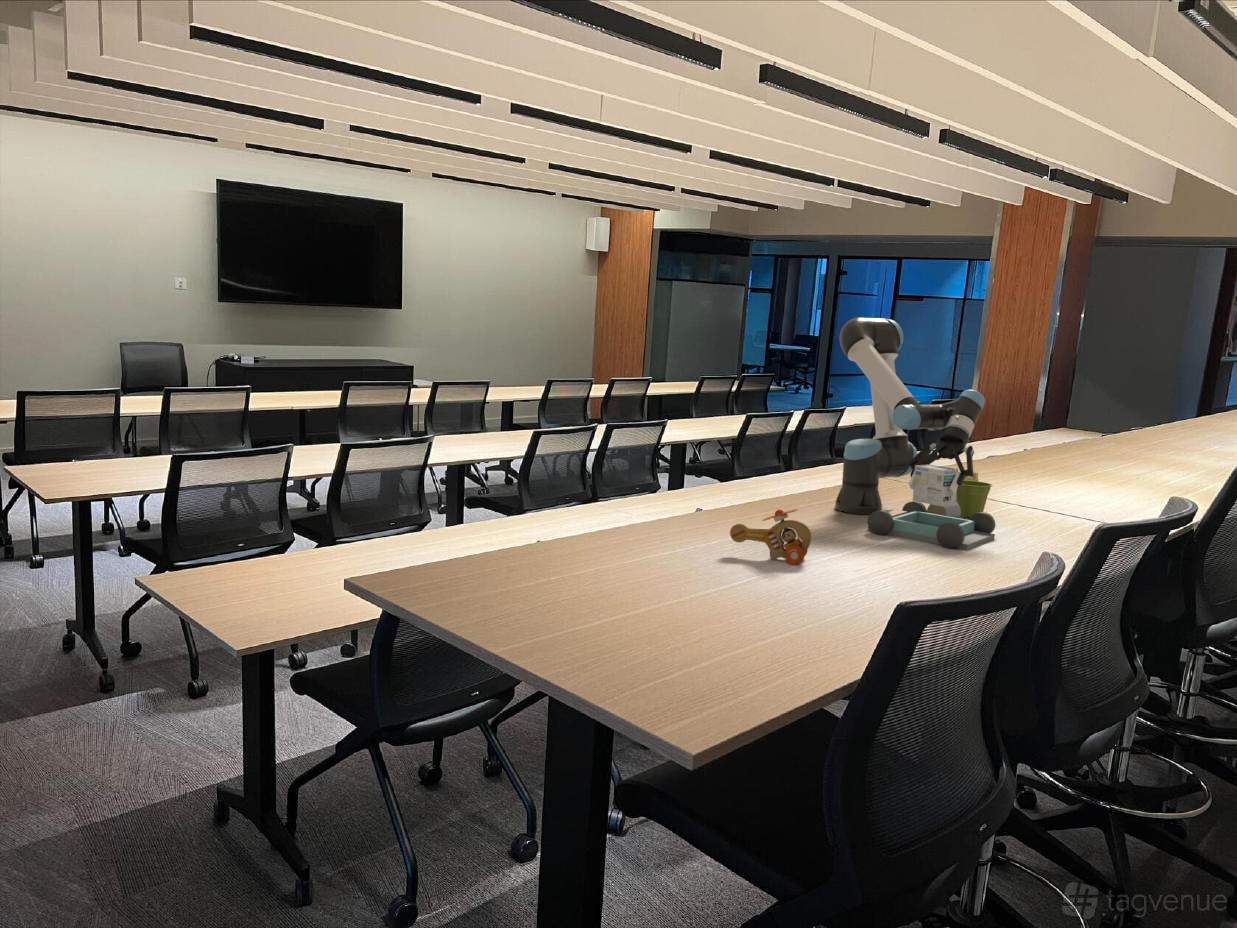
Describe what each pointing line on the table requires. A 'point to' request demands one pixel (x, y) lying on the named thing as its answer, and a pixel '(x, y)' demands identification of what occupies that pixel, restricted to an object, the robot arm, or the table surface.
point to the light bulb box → (934, 485)
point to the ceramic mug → (945, 510)
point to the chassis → (933, 526)
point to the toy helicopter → (778, 537)
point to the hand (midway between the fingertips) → (931, 489)
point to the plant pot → (972, 497)
